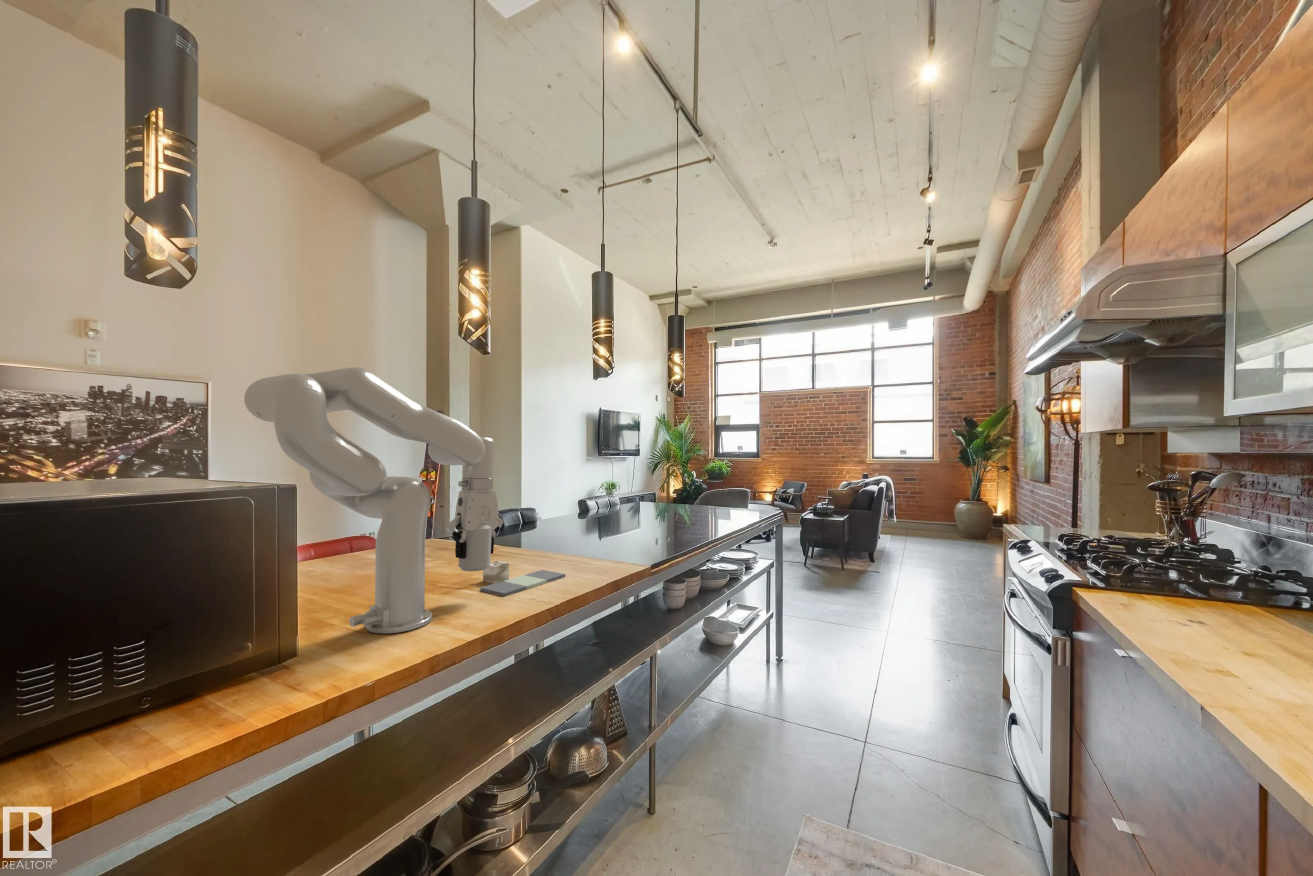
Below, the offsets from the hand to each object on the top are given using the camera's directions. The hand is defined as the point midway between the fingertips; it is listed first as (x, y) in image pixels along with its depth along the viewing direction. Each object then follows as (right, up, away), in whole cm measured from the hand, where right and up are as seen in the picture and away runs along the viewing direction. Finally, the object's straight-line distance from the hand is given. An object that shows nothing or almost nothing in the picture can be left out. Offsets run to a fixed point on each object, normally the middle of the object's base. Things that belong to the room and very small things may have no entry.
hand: (474, 555), depth 121 cm
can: (0, -4, 0) cm, 4 cm away
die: (0, -12, +17) cm, 21 cm away
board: (+9, -11, +14) cm, 20 cm away
